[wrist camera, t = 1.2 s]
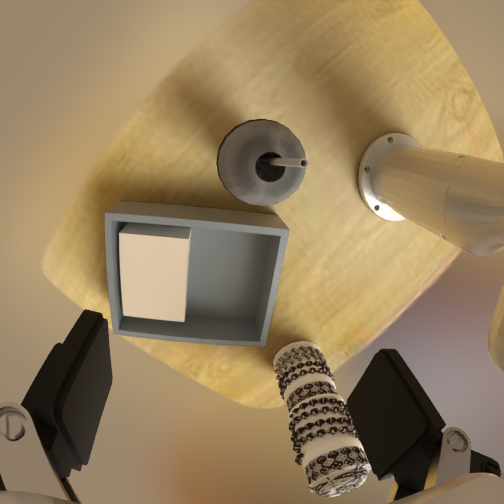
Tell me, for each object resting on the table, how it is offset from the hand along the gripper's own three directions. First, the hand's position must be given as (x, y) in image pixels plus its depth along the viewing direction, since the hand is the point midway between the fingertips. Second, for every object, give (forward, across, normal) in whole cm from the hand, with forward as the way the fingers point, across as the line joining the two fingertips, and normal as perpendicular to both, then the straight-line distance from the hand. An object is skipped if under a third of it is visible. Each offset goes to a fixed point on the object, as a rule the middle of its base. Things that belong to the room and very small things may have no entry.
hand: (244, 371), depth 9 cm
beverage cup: (+29, -1, -5) cm, 29 cm away
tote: (+28, +3, +10) cm, 30 cm away
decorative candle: (+29, -17, +24) cm, 41 cm away
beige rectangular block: (+27, +7, +10) cm, 30 cm away
